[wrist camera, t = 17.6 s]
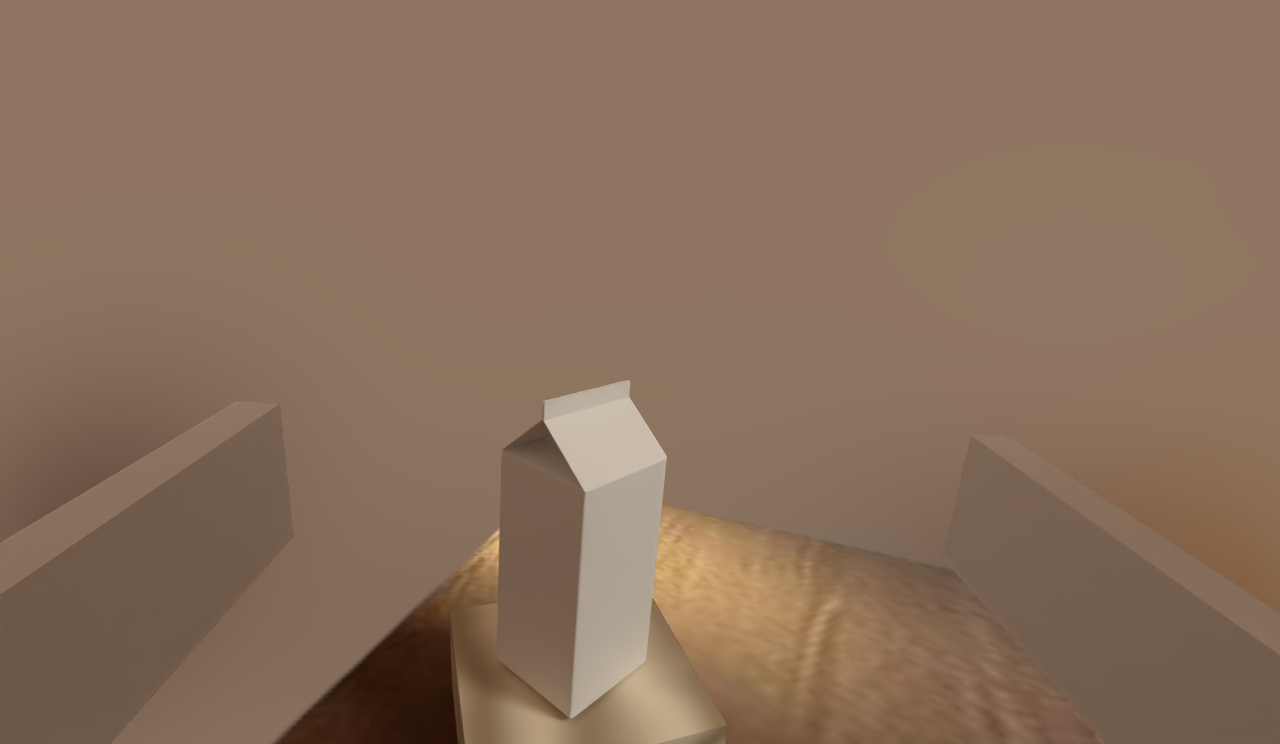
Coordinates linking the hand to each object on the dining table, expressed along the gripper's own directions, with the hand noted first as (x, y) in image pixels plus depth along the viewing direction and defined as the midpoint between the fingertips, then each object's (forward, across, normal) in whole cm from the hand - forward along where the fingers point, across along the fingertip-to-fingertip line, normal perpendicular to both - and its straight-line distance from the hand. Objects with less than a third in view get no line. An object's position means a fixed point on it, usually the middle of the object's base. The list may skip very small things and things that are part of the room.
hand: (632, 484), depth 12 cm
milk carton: (+24, -2, -26) cm, 35 cm away
